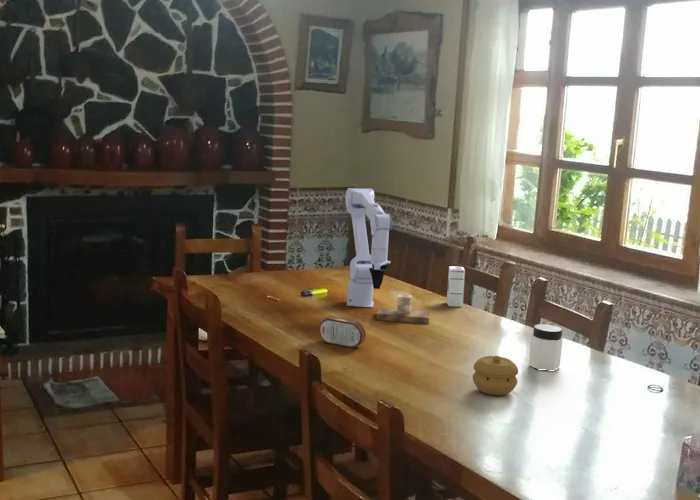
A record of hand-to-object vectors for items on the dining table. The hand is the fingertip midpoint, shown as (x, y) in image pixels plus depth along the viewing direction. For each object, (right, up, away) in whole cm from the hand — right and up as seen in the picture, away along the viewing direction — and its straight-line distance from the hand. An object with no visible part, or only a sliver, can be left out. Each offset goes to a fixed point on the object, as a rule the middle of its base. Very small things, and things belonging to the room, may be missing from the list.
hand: (377, 286), depth 285 cm
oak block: (+9, -9, -1) cm, 13 cm away
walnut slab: (+9, -11, -1) cm, 14 cm away
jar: (+47, -22, -47) cm, 70 cm away
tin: (-13, -17, -36) cm, 42 cm away
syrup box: (+30, -8, +24) cm, 39 cm away
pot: (+28, -25, -70) cm, 80 cm away
